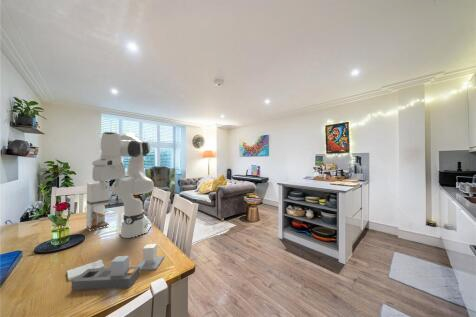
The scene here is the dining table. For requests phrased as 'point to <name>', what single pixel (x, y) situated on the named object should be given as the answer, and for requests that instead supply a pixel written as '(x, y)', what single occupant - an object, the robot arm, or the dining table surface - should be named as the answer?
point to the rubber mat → (150, 266)
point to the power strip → (104, 279)
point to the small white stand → (96, 205)
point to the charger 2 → (149, 253)
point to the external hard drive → (83, 269)
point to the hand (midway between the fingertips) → (110, 188)
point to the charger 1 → (120, 266)
